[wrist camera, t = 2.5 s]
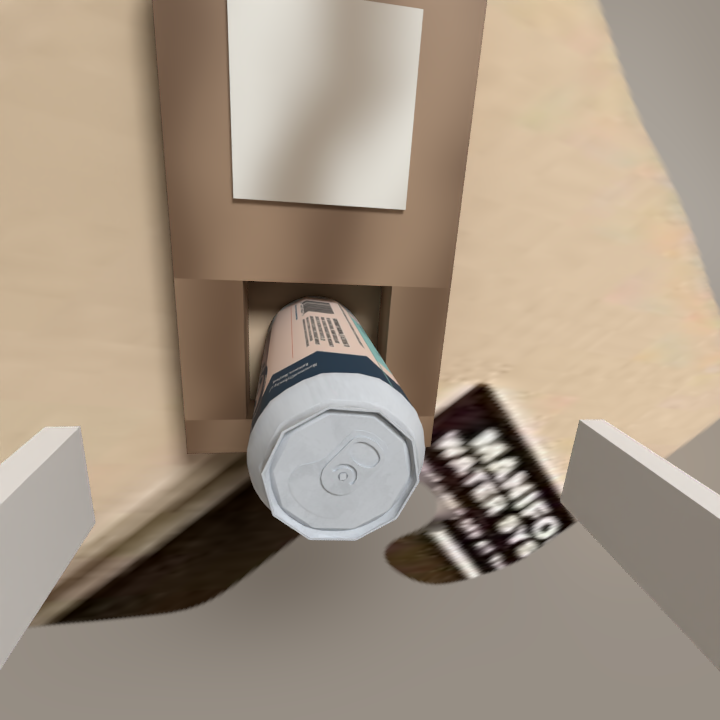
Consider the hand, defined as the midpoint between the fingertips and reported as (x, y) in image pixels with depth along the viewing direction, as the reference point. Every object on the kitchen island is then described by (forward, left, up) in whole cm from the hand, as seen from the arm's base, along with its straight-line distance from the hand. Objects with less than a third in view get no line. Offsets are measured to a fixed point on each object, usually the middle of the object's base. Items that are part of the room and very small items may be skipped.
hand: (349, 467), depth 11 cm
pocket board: (0, +5, -11) cm, 12 cm away
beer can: (0, 0, -11) cm, 11 cm away
